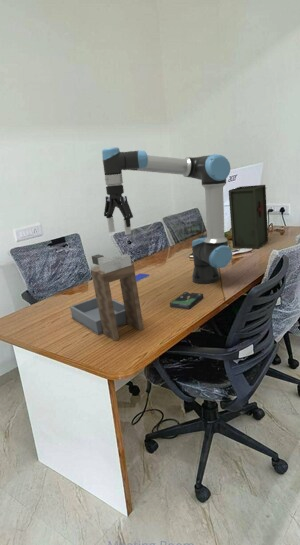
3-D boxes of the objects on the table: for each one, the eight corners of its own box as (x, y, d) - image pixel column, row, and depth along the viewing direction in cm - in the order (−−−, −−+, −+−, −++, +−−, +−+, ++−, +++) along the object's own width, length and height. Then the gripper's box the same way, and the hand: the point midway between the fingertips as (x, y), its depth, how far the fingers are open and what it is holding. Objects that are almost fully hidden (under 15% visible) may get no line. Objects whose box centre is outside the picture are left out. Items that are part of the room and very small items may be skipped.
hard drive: (135, 280, 216) (149, 274, 224) (125, 279, 221) (139, 273, 230) (136, 283, 216) (149, 276, 225) (126, 282, 221) (139, 275, 230)
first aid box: (258, 248, 249) (254, 188, 238) (232, 248, 260) (228, 190, 249) (268, 242, 263) (265, 184, 251) (243, 241, 274) (239, 186, 263)
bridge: (103, 333, 156) (90, 270, 148) (131, 322, 163) (120, 261, 155) (114, 340, 148) (102, 274, 140) (143, 328, 155) (133, 264, 147)
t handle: (83, 266, 155) (81, 257, 154) (108, 258, 162) (106, 250, 160) (105, 273, 140) (103, 263, 139) (131, 265, 146) (130, 255, 145)
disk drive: (185, 297, 185) (170, 308, 173) (184, 291, 184) (169, 302, 172) (203, 298, 179) (189, 310, 167) (203, 293, 178) (189, 304, 166)
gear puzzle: (240, 236, 292) (240, 231, 291) (229, 241, 281) (229, 236, 280) (207, 235, 313) (206, 230, 312) (196, 240, 302) (195, 235, 301)
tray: (72, 318, 177) (69, 306, 175) (105, 306, 186) (103, 294, 184) (98, 334, 155) (95, 321, 153) (134, 320, 164) (132, 307, 163)
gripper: (93, 186, 169) (98, 232, 175) (122, 185, 150) (128, 237, 156) (107, 184, 174) (112, 229, 179) (137, 183, 154) (142, 233, 160)
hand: (119, 233), depth 168 cm, fingers open, 13 cm apart
